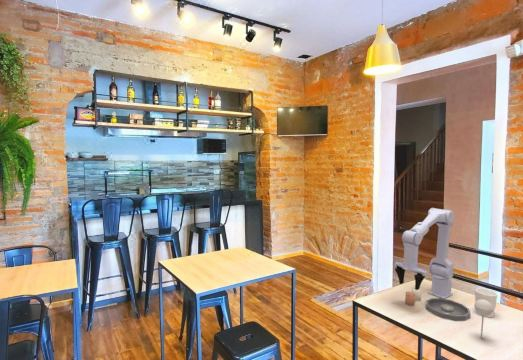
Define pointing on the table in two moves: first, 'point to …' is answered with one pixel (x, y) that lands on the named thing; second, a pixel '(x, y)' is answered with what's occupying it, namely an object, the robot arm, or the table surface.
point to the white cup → (486, 298)
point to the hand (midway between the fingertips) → (409, 286)
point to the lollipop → (483, 309)
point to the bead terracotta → (410, 299)
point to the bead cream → (417, 294)
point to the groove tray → (448, 309)
